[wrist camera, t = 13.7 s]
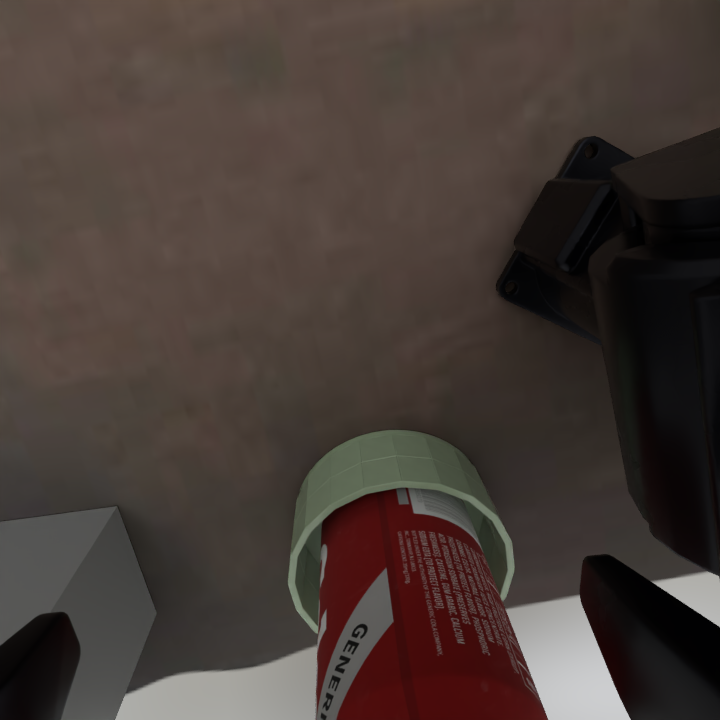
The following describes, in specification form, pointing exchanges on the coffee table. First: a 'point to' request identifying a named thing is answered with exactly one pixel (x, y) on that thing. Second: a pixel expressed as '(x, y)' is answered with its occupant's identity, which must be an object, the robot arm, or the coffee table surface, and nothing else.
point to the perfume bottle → (80, 598)
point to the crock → (379, 473)
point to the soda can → (414, 617)
